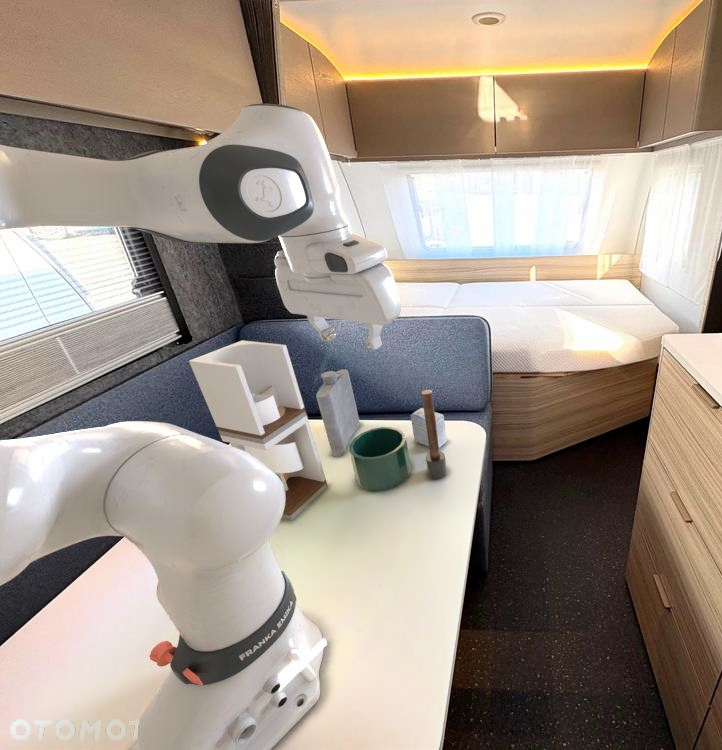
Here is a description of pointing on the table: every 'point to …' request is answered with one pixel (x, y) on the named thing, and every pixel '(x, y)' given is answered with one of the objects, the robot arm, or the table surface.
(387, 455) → the canister
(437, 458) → the wooden plunger stick
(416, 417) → the medicine box
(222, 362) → the white storage rack
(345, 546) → the table surface
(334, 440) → the hip flask
